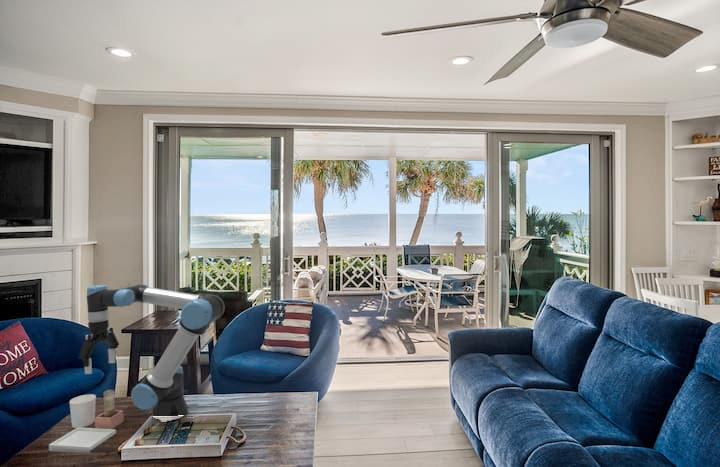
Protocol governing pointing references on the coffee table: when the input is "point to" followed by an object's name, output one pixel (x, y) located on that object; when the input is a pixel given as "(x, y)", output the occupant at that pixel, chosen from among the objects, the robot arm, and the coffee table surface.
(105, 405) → the birch dowel
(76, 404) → the candle holder
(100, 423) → the terracotta square planter
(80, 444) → the off-white tray
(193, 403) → the coffee table surface
